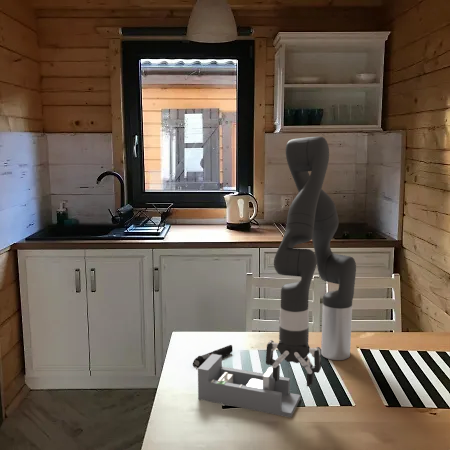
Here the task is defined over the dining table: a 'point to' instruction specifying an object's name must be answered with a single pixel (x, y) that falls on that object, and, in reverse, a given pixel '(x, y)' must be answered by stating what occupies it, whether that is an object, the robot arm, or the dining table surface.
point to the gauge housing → (244, 389)
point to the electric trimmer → (203, 358)
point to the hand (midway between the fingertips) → (292, 382)
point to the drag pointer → (226, 378)
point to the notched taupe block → (264, 381)
